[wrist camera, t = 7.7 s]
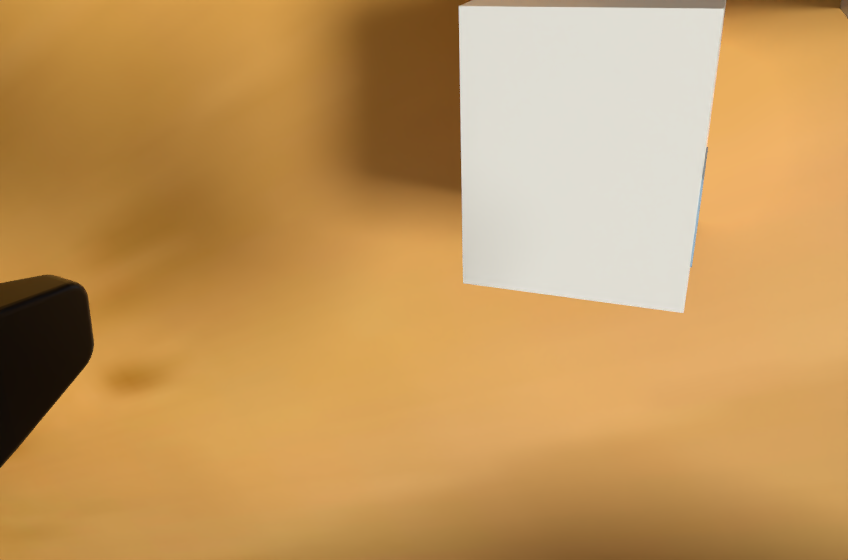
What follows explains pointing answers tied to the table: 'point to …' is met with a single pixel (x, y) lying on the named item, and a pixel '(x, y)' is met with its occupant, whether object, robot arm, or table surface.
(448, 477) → the table surface
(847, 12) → the block
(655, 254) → the block
